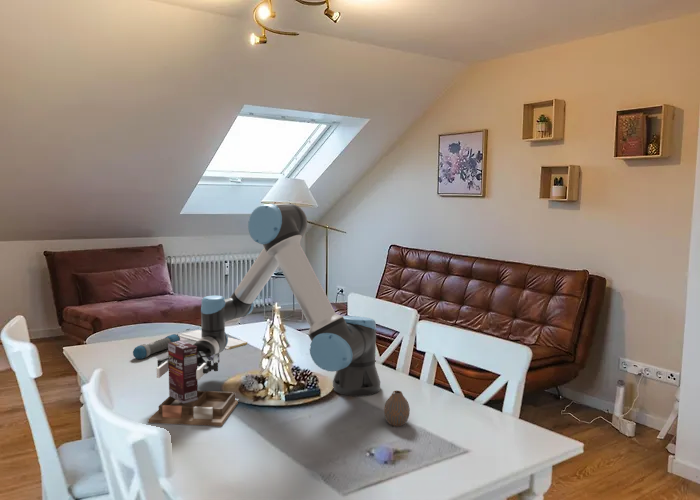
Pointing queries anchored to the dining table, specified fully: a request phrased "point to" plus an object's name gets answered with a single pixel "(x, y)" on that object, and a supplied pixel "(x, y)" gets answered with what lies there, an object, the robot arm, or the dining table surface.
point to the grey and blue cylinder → (154, 346)
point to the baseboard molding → (197, 336)
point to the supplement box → (182, 371)
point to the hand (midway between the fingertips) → (177, 373)
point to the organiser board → (197, 409)
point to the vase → (396, 409)
